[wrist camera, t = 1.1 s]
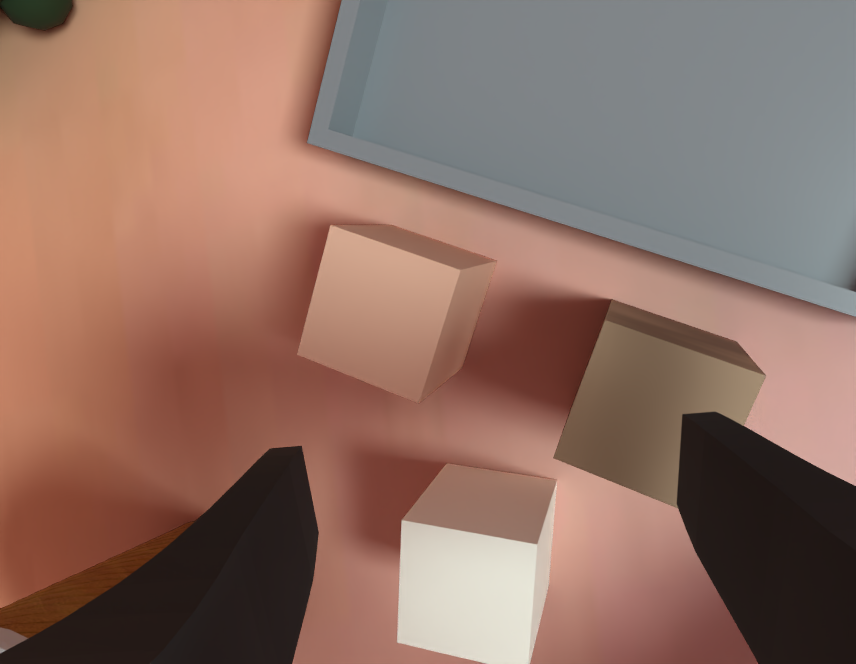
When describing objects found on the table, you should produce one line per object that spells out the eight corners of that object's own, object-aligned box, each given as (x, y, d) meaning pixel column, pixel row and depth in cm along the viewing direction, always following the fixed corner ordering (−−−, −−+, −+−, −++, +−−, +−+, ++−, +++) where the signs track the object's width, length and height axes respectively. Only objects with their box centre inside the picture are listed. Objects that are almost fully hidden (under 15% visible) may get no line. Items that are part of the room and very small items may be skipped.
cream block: (557, 479, 23) (537, 544, 18) (548, 584, 24) (527, 673, 19) (447, 462, 24) (401, 520, 20) (442, 563, 25) (397, 642, 20)
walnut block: (736, 341, 21) (765, 375, 16) (687, 454, 22) (702, 518, 17) (611, 299, 22) (605, 319, 17) (570, 409, 23) (553, 457, 18)
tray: (1111, -134, 16) (1190, -194, 14) (888, 324, 19) (923, 337, 17) (439, -238, 21) (414, -298, 18) (339, 151, 24) (307, 142, 21)
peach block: (497, 260, 23) (460, 270, 18) (462, 368, 24) (418, 403, 19) (391, 224, 24) (330, 225, 19) (362, 329, 24) (296, 354, 20)
